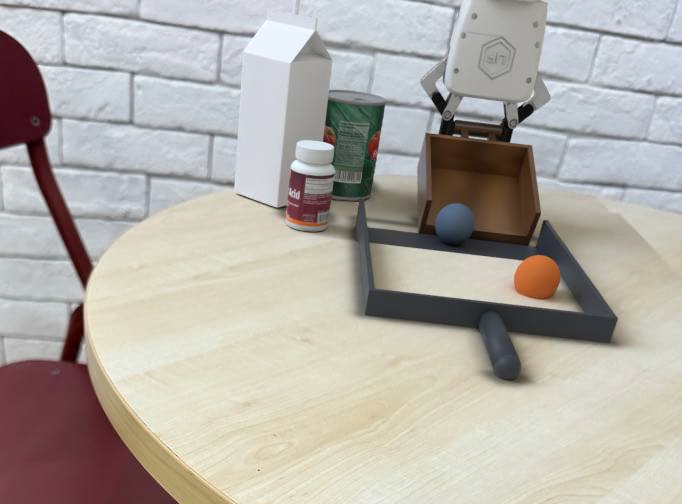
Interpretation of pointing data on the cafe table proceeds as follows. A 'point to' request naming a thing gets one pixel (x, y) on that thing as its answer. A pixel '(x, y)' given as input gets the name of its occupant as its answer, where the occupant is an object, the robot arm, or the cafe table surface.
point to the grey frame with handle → (483, 314)
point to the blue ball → (454, 223)
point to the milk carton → (279, 103)
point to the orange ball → (537, 277)
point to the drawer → (479, 182)
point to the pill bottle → (310, 186)
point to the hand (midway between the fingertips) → (469, 156)
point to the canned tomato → (353, 141)
